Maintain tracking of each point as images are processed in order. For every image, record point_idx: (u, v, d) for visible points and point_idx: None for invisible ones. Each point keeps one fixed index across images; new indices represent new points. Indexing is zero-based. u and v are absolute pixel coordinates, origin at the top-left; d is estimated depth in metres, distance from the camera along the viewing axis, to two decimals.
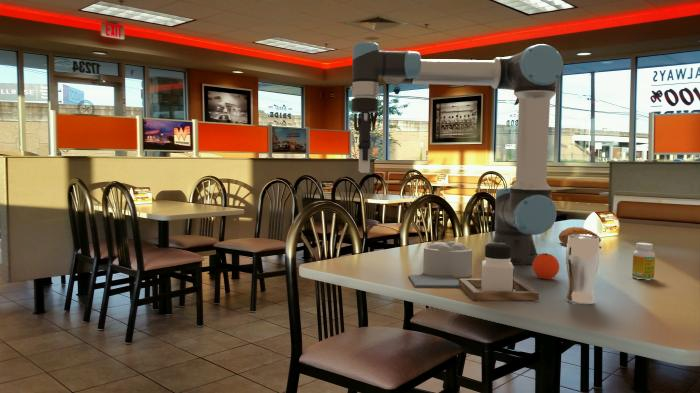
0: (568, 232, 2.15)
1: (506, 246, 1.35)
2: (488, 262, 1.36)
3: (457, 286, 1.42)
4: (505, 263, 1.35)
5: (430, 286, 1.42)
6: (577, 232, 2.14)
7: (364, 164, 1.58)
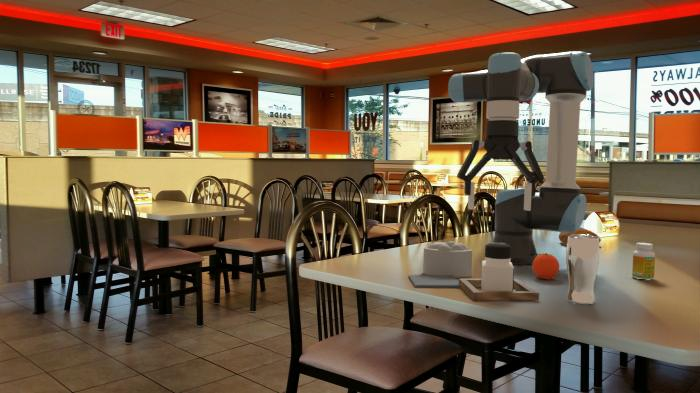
0: (568, 232, 2.16)
1: (506, 246, 1.35)
2: (488, 262, 1.36)
3: (457, 286, 1.42)
4: (505, 263, 1.35)
5: (430, 286, 1.42)
6: (577, 232, 2.14)
7: (469, 199, 1.36)
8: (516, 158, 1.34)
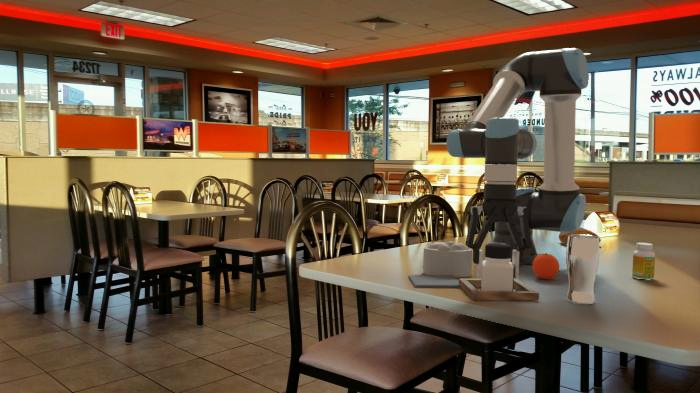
0: (568, 232, 2.16)
1: (506, 246, 1.35)
2: (488, 262, 1.36)
3: (457, 286, 1.42)
4: (505, 263, 1.35)
5: (430, 286, 1.42)
6: (577, 232, 2.14)
7: (477, 268, 1.37)
8: (511, 223, 1.35)
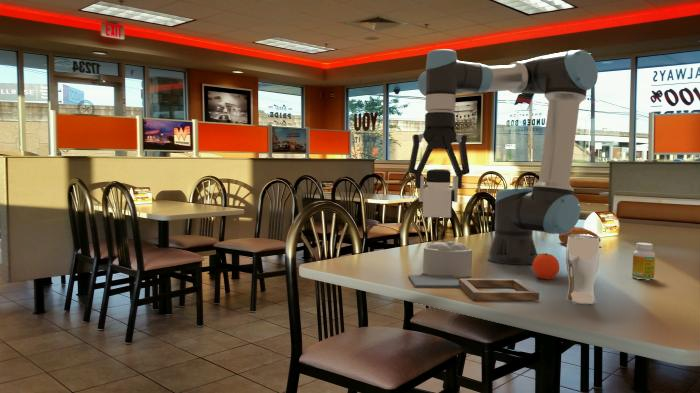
0: (568, 232, 2.16)
1: (445, 171, 1.44)
2: (429, 186, 1.45)
3: (457, 286, 1.42)
4: (444, 187, 1.44)
5: (430, 286, 1.42)
6: (577, 232, 2.14)
7: (419, 192, 1.46)
8: (449, 149, 1.44)
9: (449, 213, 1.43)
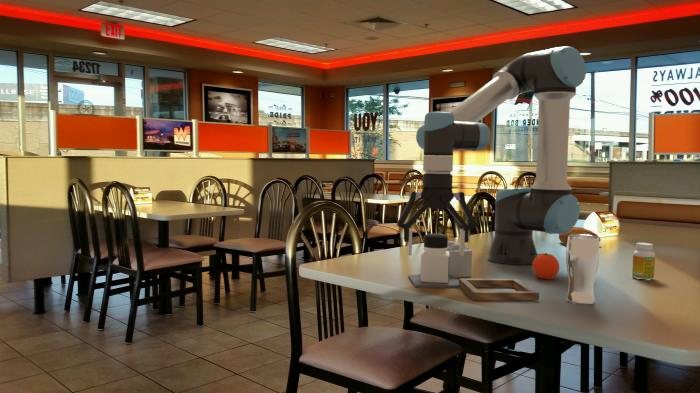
0: None
1: (442, 236, 1.45)
2: (426, 251, 1.47)
3: (457, 286, 1.42)
4: (441, 252, 1.45)
5: (430, 286, 1.42)
6: (576, 231, 2.14)
7: (408, 245, 1.47)
8: (450, 208, 1.45)
9: (446, 279, 1.44)
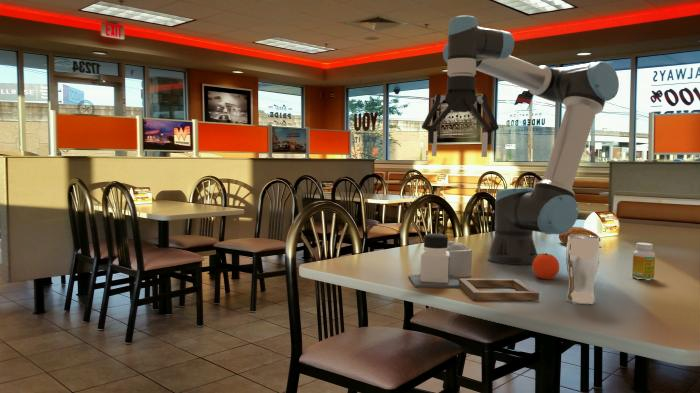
0: (568, 231, 2.17)
1: (443, 236, 1.45)
2: (426, 251, 1.47)
3: (457, 286, 1.42)
4: (441, 252, 1.45)
5: (430, 286, 1.42)
6: (576, 231, 2.15)
7: (432, 147, 1.53)
8: (473, 110, 1.51)
9: (446, 279, 1.44)
